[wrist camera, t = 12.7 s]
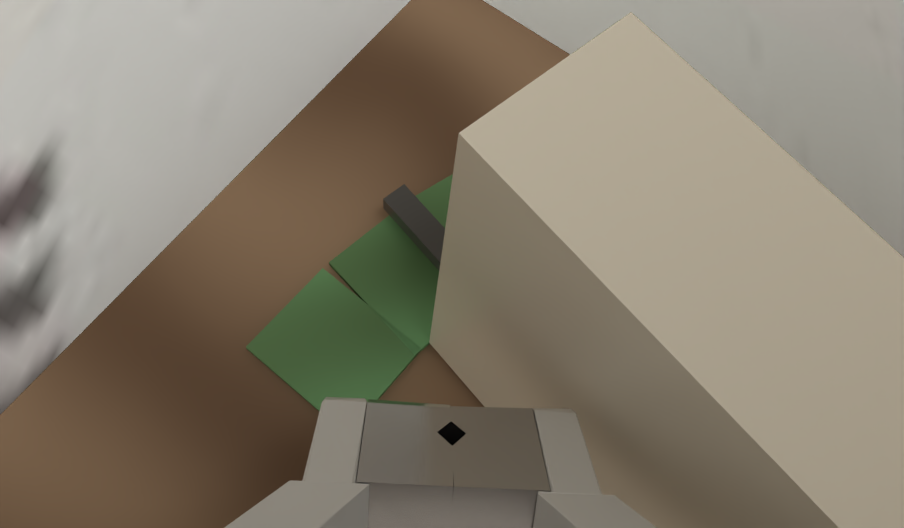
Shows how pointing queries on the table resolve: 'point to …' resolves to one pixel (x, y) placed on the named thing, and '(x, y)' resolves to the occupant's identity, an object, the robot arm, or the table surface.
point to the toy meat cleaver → (672, 296)
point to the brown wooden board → (271, 298)
